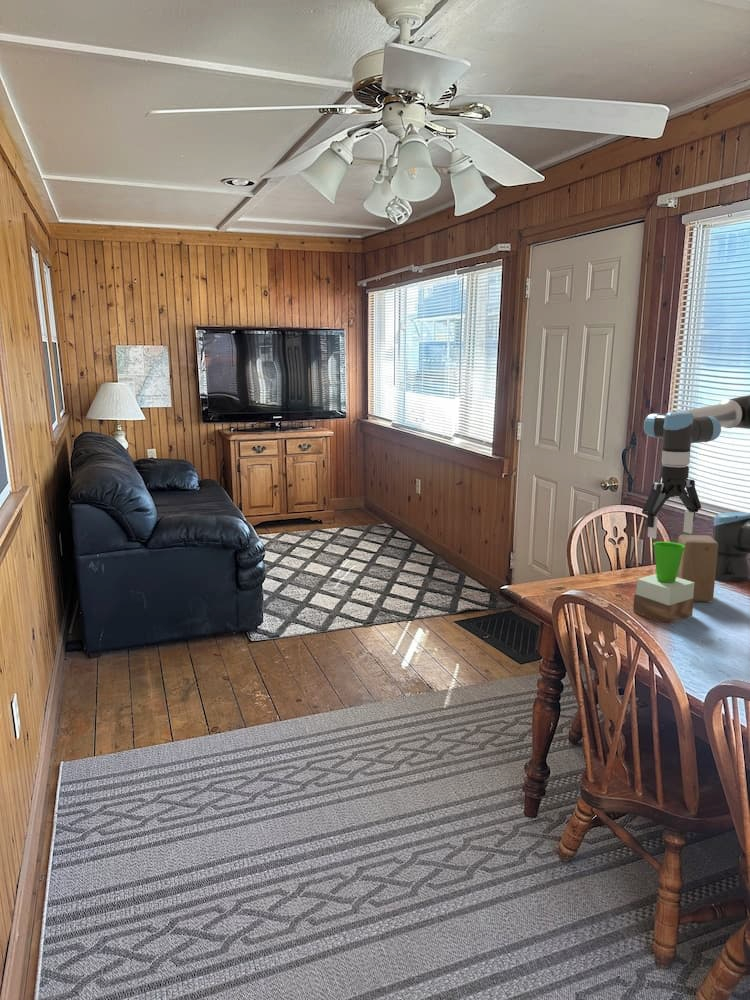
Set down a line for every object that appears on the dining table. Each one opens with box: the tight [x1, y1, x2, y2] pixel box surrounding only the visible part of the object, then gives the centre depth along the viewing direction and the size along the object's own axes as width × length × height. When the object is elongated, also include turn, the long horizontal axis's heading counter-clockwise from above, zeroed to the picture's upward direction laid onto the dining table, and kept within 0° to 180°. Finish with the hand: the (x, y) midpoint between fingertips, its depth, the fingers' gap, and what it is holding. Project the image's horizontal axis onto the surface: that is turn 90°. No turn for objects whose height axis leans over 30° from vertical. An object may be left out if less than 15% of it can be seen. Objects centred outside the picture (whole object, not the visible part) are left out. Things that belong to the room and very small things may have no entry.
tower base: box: [632, 593, 695, 625], centre depth 208 cm, size 12×12×6 cm
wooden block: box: [676, 534, 718, 603], centre depth 220 cm, size 10×10×20 cm
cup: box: [652, 541, 685, 582], centre depth 205 cm, size 9×9×11 cm
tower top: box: [635, 573, 694, 605], centre depth 206 cm, size 12×12×5 cm
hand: (669, 535), depth 203 cm, fingers open, 13 cm apart
